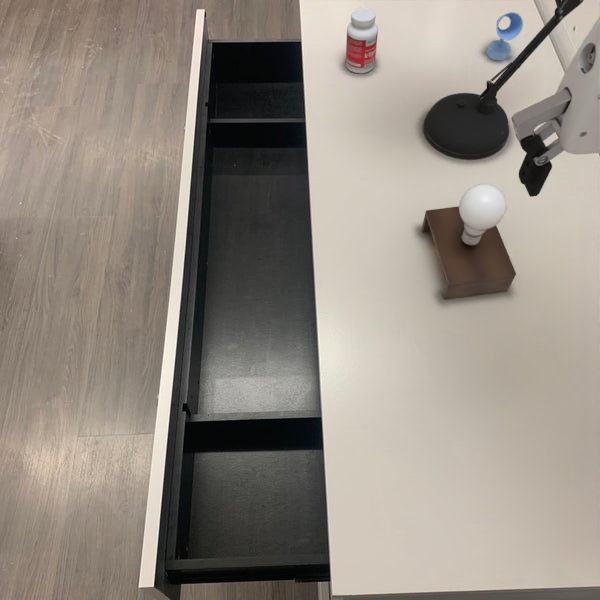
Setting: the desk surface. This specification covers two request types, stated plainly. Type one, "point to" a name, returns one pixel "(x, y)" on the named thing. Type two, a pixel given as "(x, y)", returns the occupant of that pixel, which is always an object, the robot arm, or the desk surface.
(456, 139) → the desk lamp
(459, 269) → the brown wooden stand
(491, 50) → the spotlight
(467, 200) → the lightbulb
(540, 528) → the desk surface
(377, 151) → the desk surface
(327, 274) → the desk surface
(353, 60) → the pill bottle
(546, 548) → the desk surface
